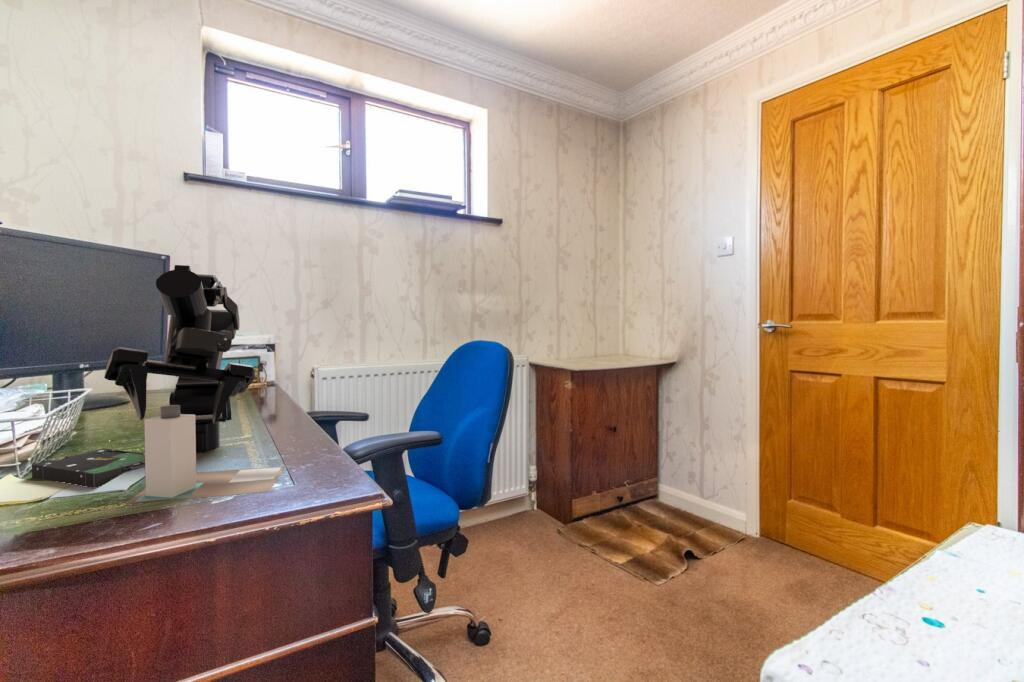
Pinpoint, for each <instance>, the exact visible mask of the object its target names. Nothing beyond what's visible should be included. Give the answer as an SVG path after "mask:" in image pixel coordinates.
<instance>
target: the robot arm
mask: <svg viewBox="0 0 1024 682" xmlns="http://www.w3.org/2000/svg"><path fill="white" fill-rule="evenodd" d="M173 268H174V269H171V270H169V271H166V272H164V273H163V272H162V274H160V276H158V277H157V278H156V281H155V285H156V286H155V287H156V289H157V291H158V295H159V297H160V300H161V302H162V303H161V304H162V305H163V309H164V311H165V313H166V314H167V315H168V316H170V317H169V325H168V331H167V338H166V348H165V353H164V361H160V360H154V359H153V360H151V359H148V357H149V351H148V350H145V349H139V348H138V349H137V348H130V347H126V346H125V347H124V346H123V347H122V346H118V347H116V348H114V349H113V350H112V351H111V354H110V356H109V360H108V361H107V363H106V368H105V372H104V379H106V380H107V381H114V385H115V386H119V387H122V388H123V389H124V390H125V392H126V393H127V395H128V397H129V399H130V400H131V402H132V405H133V408H134V410H135V412H136V415H137V417H138V419H139V420H140V421H144V420H145V416H146V411H147V379H148V374H151V375H152V374H153V375H155V374H156V375H160V376H161V375H162V376H169V377H171V376H173V377H178V378H177V381H176V382H177V383H176V384H175V387H174V391H171V392H170V394H169V400H168V401H169V403H168V405H180V414H191V415H195V425H196V454H203V453H208V452H209V451H211V450H216V449H219V448H220V447H221V440H220V439H221V434H220V433H221V431H220V430H221V427H220V426H221V424H220V422H221V423H226V422H227V421H231V420H233V418H232V417H233V411H232V410H233V409H232V401H231V397H236V396H237V395H238V394H242V393H245V391H246V390H247V389H248V388H249V386H251V384H252V383H253V381H254V380H255V378H256V377H255V376H256V370H255V369H254V367H253V365H252V364H244V363H237V362H227V364H226V366H225V368H224V369H221V366H222V361H223V360H222V359H223V355H224V353H226V352H229V351H230V350H231V348H232V342H233V340H234V339H235V338H236V337H235V336H236V334H237V331H239V330H240V312H239V306H238V304H237V303H236V302H235V301H234V300H232V298H231V297H229V295H228V291H227V289H228V288H227V287H225V286H223V284H222V283H221V281H219V280H218V278H217V276H216V275H214V274H201V273H198V274H197V273H195V272H193V271H192V269H191V266H190V265H183V264H182V265H181V264H175V265H174V267H173ZM217 305H222V306H223V308H224V309H209V308H210V307H211V308H212V307H213V308H214V307H216V306H217Z"/></svg>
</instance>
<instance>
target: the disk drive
mask: <svg viewBox="0 0 1024 682" xmlns="http://www.w3.org/2000/svg"><path fill="white" fill-rule="evenodd" d="M140 468H145V453H144V452H143V453H141V452H134V451H127V450H119V449H112V448H99V449H96V450H95V449H94V450H92V451H87V452H82V453H77V454H72V455H68V456H64V457H63V458H62V459H58V460H45V461H41V462H36V463H31V478H32V479H37V480H44V481H50V482H55V481H58V482H57V483H61V482H65V483H64V484H67V483H71V484H70V485H73V484H77V485H76V486H79V485H82V486H81V487H83V486H87V487H86V488H90V487H94V488H93V489H96V488H95V487H97V488H100V487H103V486H104V485H106V484H108V483H109V482H111V481H112V480H114V479H116V478H118V477H119V476H120V475H123V474H124V473H126V472H129V471H132V470H137V469H140ZM102 485H103V486H102ZM99 486H100V487H99Z"/></svg>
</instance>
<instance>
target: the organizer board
mask: <svg viewBox="0 0 1024 682" xmlns="http://www.w3.org/2000/svg"><path fill="white" fill-rule="evenodd" d="M285 467H286V465H282V466H269V467H255V468H253V467H252V468H240V469H239V468H238V469H227V470H213V471H212V470H211V471H199V472H198V471H196V488H193V489H191V490H189V491H186V492H184V493H182V494H179V495H177V496H175V497H172V498H170V497H155V496H146V488H144V489H143V490H142V491H140V492H139V493H137V494H136V495H135V496H133V497H132V498H130V499H129V500H128V501H126V502H124V505H132V504H143V503H144V504H145V503H157V502H166V501H170V502H171V501H177V500H179V501H181V500H190V499H191V500H193V499H201V498H211V497H212V498H215V497H225V496H237V495H249V494H260V493H261V494H263V493H270V491H271V490H272V488H273V487H274V486H275V483H276V482H277V480H278V478H279V477H280V476H281V474H282V472H283V471H284V469H285Z"/></svg>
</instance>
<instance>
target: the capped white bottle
mask: <svg viewBox="0 0 1024 682" xmlns="http://www.w3.org/2000/svg"><path fill="white" fill-rule="evenodd" d="M159 410H160V415H158V416H153V417H150V418H149V417H148V418H144V454H145V466H144V468H145V472H144V473H145V489H146V496H155V497H170V498H172V497H175V496H177V495H179V494H182V493H184V492H186V491H189V490H191V489H193V488H196V473H197V453H196V425H195V415H191V414H180V405H169V404H168V405H167V404H165V405H162V406H160V409H159Z"/></svg>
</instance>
